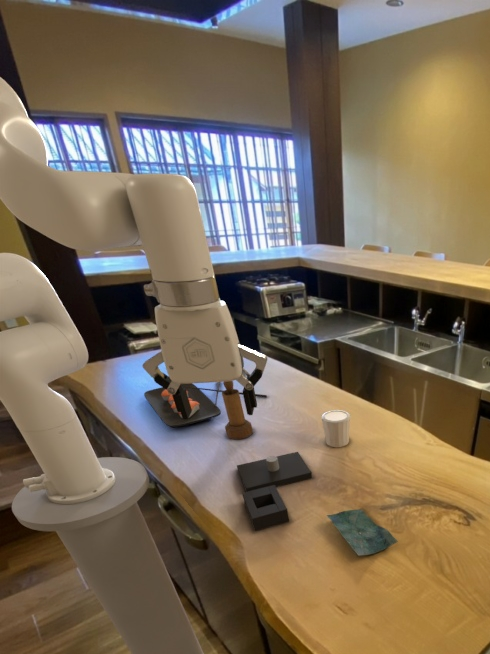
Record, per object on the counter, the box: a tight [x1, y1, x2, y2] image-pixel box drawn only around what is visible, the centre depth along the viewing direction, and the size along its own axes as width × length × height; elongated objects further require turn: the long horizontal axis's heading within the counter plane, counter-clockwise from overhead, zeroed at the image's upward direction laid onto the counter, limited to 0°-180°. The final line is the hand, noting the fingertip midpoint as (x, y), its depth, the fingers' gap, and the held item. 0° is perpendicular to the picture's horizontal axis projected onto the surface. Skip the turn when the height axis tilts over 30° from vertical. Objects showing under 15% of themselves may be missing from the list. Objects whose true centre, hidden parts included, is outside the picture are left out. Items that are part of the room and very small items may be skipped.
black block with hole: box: [241, 485, 290, 532], centre depth 82 cm, size 6×9×3 cm
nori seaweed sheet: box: [326, 508, 399, 557], centre depth 77 cm, size 13×8×2 cm, turn 32°
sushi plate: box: [143, 382, 267, 428], centre depth 123 cm, size 29×30×4 cm
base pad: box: [236, 451, 313, 492], centre depth 92 cm, size 14×10×4 cm
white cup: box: [321, 409, 351, 448], centre depth 103 cm, size 7×7×7 cm
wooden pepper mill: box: [221, 381, 254, 440], centre depth 103 cm, size 7×6×18 cm
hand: (219, 413), depth 66 cm, fingers open, 9 cm apart
